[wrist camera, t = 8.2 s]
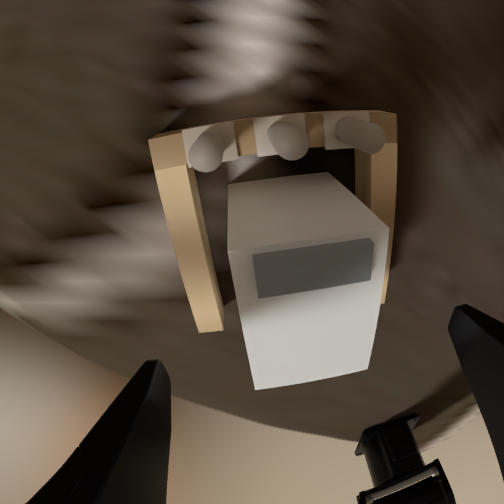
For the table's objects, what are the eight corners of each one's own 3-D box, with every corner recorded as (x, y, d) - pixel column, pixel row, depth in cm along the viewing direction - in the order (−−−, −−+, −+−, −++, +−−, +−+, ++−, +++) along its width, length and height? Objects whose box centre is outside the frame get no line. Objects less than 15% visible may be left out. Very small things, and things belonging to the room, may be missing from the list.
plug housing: (329, 283, 16) (369, 374, 10) (246, 295, 16) (255, 396, 10) (327, 171, 13) (394, 233, 7) (228, 183, 13) (227, 256, 8)
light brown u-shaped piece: (371, 283, 16) (401, 331, 13) (201, 309, 16) (196, 366, 13) (376, 107, 12) (427, 117, 8) (158, 131, 12) (128, 147, 8)
